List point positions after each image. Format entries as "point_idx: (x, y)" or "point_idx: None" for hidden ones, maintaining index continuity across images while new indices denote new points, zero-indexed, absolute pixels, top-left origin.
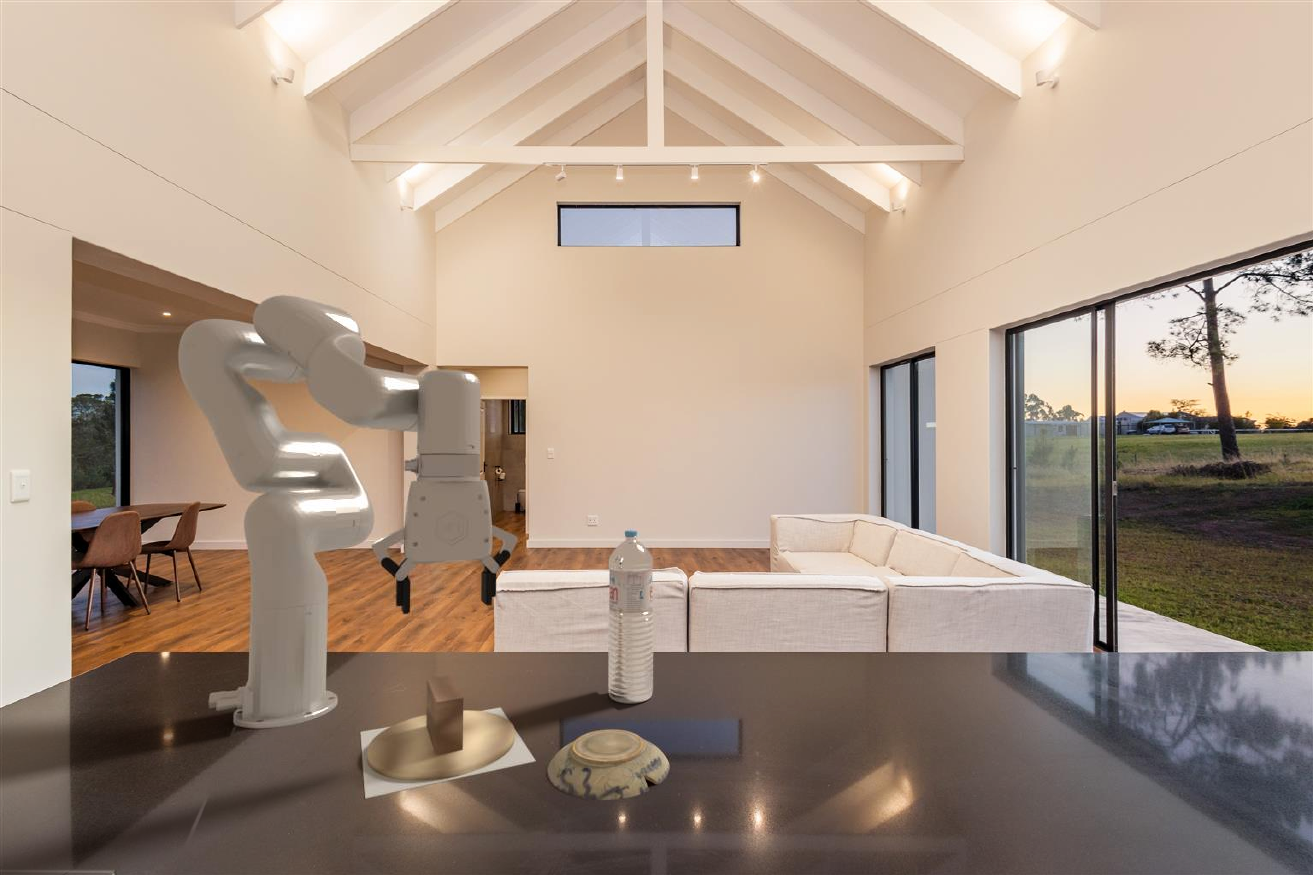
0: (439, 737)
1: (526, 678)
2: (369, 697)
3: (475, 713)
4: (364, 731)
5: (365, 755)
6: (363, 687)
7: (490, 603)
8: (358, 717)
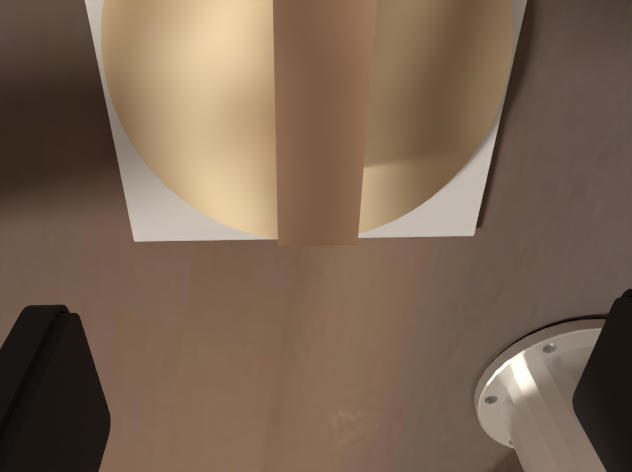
0: None
1: None
2: (409, 402)
3: (206, 196)
4: (465, 233)
5: None
6: (410, 445)
7: (35, 309)
8: (450, 322)
